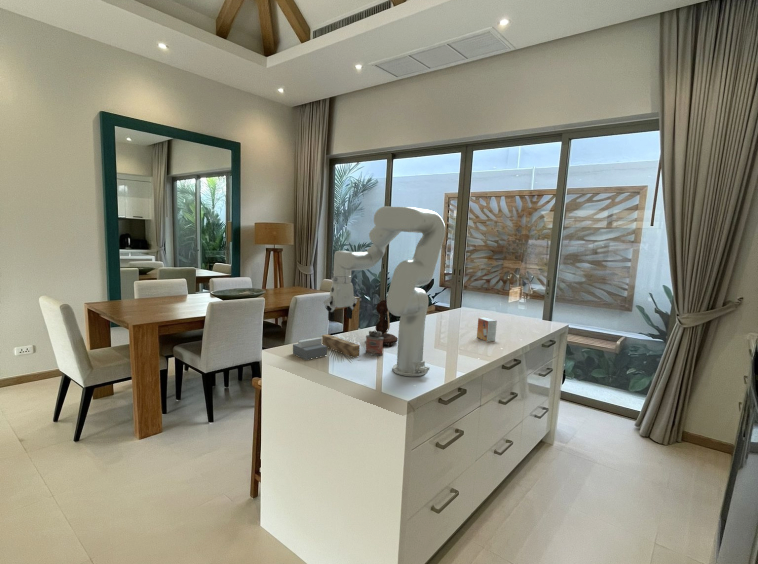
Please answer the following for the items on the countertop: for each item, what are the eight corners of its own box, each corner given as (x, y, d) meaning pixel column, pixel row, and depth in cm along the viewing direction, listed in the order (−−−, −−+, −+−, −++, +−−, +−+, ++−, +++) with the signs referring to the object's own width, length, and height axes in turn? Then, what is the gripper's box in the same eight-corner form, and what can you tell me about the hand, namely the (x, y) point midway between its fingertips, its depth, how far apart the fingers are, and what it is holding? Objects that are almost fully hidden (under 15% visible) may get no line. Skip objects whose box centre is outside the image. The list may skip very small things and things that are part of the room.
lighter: (363, 353, 168) (364, 330, 167) (367, 351, 171) (368, 328, 170) (380, 356, 164) (381, 333, 163) (384, 354, 167) (385, 331, 166)
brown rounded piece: (395, 348, 178) (397, 304, 175) (363, 345, 180) (365, 302, 178) (398, 340, 192) (401, 299, 190) (369, 337, 194) (370, 297, 192)
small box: (476, 337, 205) (477, 317, 203) (485, 336, 207) (486, 317, 206) (486, 341, 197) (488, 320, 196) (495, 340, 200) (497, 320, 198)
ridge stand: (326, 355, 162) (327, 340, 161) (306, 360, 155) (306, 344, 154) (313, 350, 169) (313, 335, 169) (292, 354, 162) (293, 338, 162)
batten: (359, 356, 164) (359, 345, 163) (353, 358, 161) (354, 346, 161) (327, 344, 179) (327, 334, 179) (322, 346, 177) (322, 335, 177)
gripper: (330, 282, 158) (328, 323, 161) (363, 280, 170) (361, 319, 172) (320, 279, 164) (318, 319, 166) (352, 278, 176) (350, 315, 178)
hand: (340, 319), depth 169 cm, fingers open, 9 cm apart
